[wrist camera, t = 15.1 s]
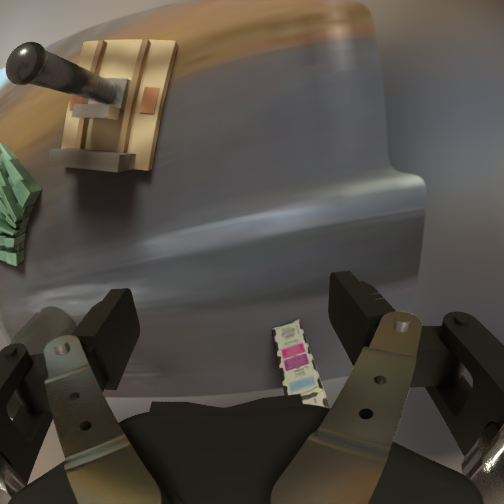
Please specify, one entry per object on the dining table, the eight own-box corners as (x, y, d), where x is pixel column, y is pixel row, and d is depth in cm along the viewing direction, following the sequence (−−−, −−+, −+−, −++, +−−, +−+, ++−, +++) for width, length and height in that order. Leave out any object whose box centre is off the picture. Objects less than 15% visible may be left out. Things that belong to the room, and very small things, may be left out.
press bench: (89, 45, 31) (65, 29, 24) (178, 45, 33) (166, 24, 25) (66, 160, 37) (36, 164, 29) (151, 169, 38) (133, 174, 31)
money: (42, 265, 42) (27, 276, 37) (-16, 247, 40) (-32, 255, 35) (48, 144, 36) (30, 145, 31) (-14, 141, 34) (-32, 143, 29)
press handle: (99, 80, 32) (0, 40, 12) (132, 81, 32) (44, 29, 12) (91, 119, 33) (-17, 108, 13) (123, 121, 34) (24, 103, 14)
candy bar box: (269, 328, 47) (284, 402, 32) (299, 317, 47) (325, 388, 31) (288, 374, 51) (306, 446, 35) (315, 365, 51) (340, 435, 35)
